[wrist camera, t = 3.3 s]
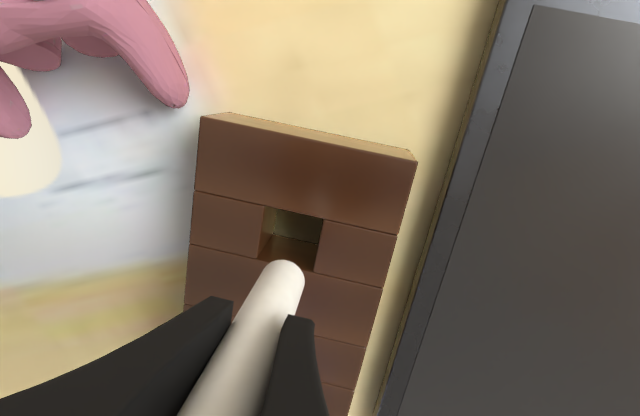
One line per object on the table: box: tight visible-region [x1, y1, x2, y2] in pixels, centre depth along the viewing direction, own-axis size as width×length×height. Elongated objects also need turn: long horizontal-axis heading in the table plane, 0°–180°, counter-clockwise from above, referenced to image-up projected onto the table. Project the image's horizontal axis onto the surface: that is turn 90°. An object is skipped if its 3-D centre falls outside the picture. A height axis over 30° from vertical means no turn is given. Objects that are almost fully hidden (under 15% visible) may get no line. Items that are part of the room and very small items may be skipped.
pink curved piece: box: [0, 0, 189, 139], centre depth 14 cm, size 10×5×7 cm, turn 100°
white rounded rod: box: [177, 260, 305, 416], centre depth 9 cm, size 2×2×8 cm
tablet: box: [372, 0, 640, 416], centre depth 17 cm, size 22×16×1 cm
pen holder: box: [183, 112, 418, 416], centre depth 17 cm, size 14×8×3 cm, turn 169°
